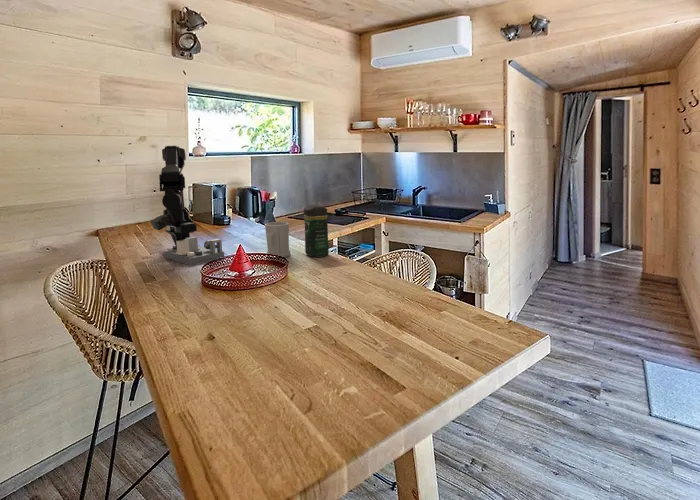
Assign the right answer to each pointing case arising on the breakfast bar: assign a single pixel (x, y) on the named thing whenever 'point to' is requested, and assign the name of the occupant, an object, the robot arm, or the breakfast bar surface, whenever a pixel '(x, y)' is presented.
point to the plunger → (208, 245)
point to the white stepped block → (193, 244)
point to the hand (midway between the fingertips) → (178, 249)
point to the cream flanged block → (182, 247)
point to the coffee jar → (316, 231)
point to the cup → (278, 238)
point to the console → (198, 254)
